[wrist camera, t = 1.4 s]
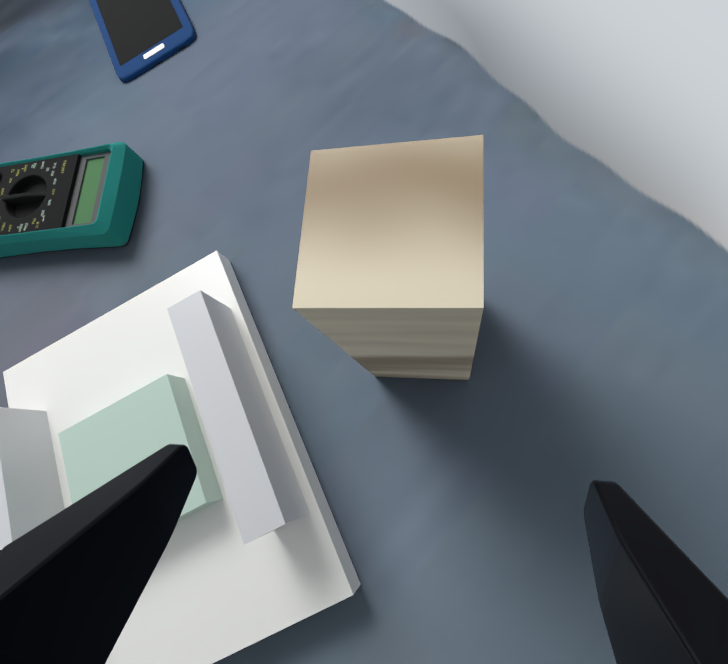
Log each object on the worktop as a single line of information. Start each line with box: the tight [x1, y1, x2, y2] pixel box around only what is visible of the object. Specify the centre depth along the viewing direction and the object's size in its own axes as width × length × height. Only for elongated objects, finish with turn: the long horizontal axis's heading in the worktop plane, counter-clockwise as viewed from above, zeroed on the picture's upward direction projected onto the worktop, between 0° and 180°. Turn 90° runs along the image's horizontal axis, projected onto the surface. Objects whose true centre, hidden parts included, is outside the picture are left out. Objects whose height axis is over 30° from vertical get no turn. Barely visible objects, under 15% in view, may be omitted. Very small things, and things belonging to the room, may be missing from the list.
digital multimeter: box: [0, 142, 143, 258], centre depth 30 cm, size 7×15×3 cm, turn 90°
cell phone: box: [89, 0, 196, 83], centre depth 35 cm, size 7×14×1 cm, turn 26°
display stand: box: [0, 251, 361, 664], centre depth 22 cm, size 20×16×4 cm
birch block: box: [292, 135, 484, 380], centre depth 17 cm, size 5×5×12 cm
